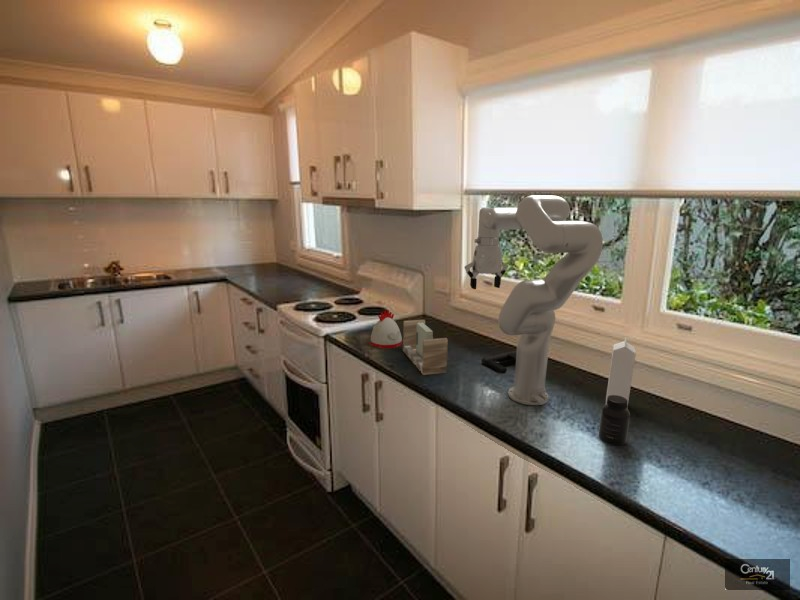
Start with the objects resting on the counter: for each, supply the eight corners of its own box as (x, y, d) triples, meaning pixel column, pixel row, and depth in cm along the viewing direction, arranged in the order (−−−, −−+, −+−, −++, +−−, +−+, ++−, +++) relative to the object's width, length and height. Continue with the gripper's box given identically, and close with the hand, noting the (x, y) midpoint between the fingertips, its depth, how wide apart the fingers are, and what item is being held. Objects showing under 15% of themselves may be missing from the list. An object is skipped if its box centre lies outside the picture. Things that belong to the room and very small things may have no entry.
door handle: (546, 362, 162) (516, 347, 176) (508, 372, 153) (478, 355, 166) (545, 370, 163) (515, 354, 177) (506, 380, 153) (477, 363, 167)
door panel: (431, 363, 162) (432, 331, 159) (424, 364, 161) (425, 332, 158) (421, 353, 173) (422, 322, 170) (414, 353, 172) (415, 323, 169)
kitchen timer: (364, 342, 188) (364, 309, 185) (388, 336, 197) (388, 304, 194) (383, 350, 178) (383, 316, 175) (408, 344, 187) (408, 311, 183)
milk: (605, 407, 132) (614, 340, 127) (605, 399, 138) (614, 334, 133) (627, 411, 130) (637, 343, 125) (626, 403, 135) (636, 337, 130)
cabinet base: (446, 372, 157) (447, 339, 154) (423, 374, 154) (424, 341, 151) (423, 348, 181) (424, 319, 178) (403, 350, 179) (403, 320, 176)
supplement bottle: (601, 430, 119) (607, 390, 116) (628, 438, 115) (635, 398, 112) (594, 440, 114) (600, 399, 111) (622, 449, 110) (629, 407, 107)
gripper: (470, 243, 149) (468, 291, 153) (514, 242, 154) (510, 289, 158) (462, 241, 156) (459, 287, 160) (503, 240, 161) (500, 285, 165)
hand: (485, 287), depth 159 cm, fingers open, 9 cm apart
